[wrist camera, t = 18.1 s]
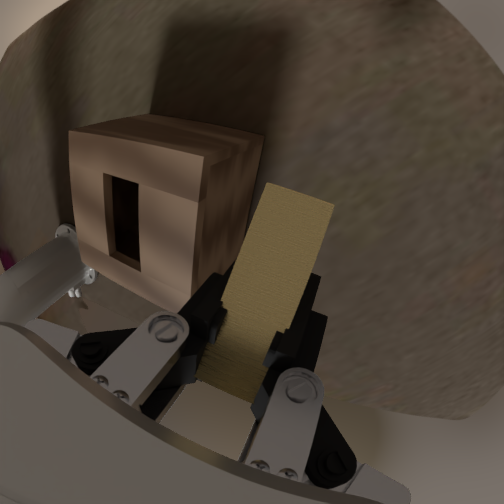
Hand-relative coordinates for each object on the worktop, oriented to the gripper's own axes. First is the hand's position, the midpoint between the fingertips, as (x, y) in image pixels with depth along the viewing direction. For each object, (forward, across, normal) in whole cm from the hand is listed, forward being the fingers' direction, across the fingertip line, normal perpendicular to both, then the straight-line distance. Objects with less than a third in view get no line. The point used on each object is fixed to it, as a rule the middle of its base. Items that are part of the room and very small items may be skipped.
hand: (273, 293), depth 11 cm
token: (+1, 0, -3) cm, 3 cm away
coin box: (+17, +14, +4) cm, 22 cm away
